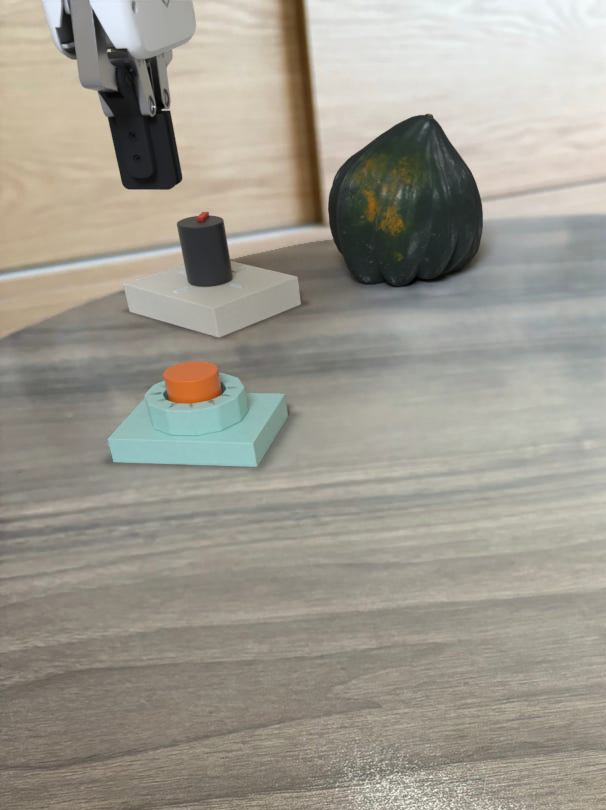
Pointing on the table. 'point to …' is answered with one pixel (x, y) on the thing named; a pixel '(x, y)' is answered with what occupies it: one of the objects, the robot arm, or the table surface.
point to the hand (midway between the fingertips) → (153, 185)
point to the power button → (192, 382)
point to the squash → (406, 206)
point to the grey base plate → (213, 298)
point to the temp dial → (205, 250)
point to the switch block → (200, 428)
